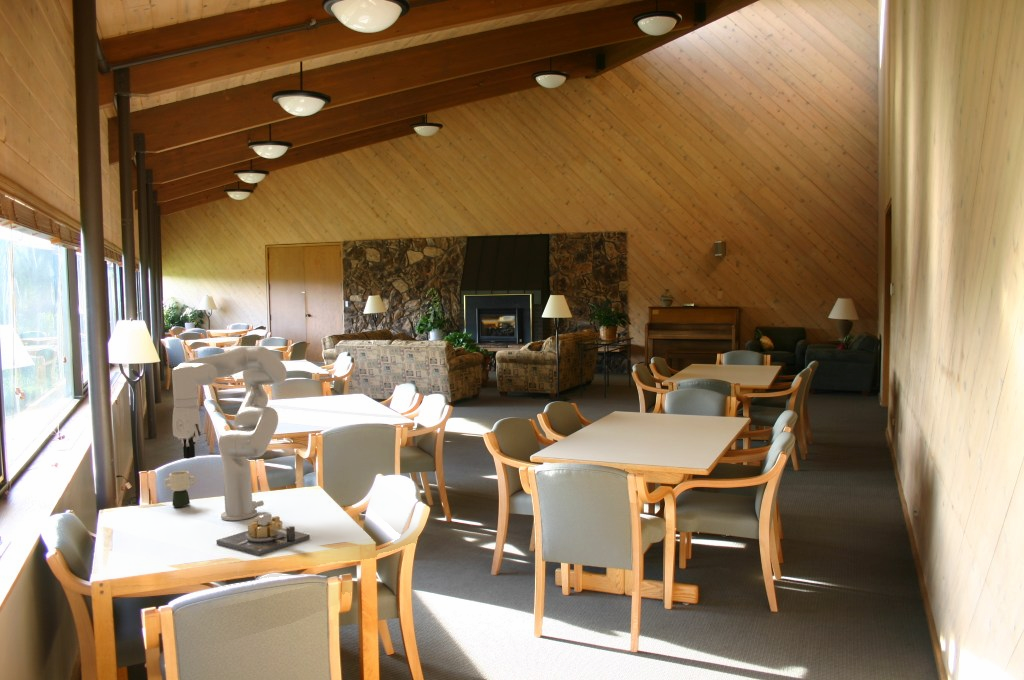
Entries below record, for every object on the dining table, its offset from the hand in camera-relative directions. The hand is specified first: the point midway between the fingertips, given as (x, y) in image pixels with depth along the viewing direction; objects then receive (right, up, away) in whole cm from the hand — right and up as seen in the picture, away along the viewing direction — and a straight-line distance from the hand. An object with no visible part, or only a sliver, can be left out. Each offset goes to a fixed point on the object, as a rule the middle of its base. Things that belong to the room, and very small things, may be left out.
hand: (189, 457), depth 287 cm
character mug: (-19, -25, +43) cm, 53 cm away
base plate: (+27, -27, -6) cm, 38 cm away
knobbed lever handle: (+31, -24, -9) cm, 40 cm away
